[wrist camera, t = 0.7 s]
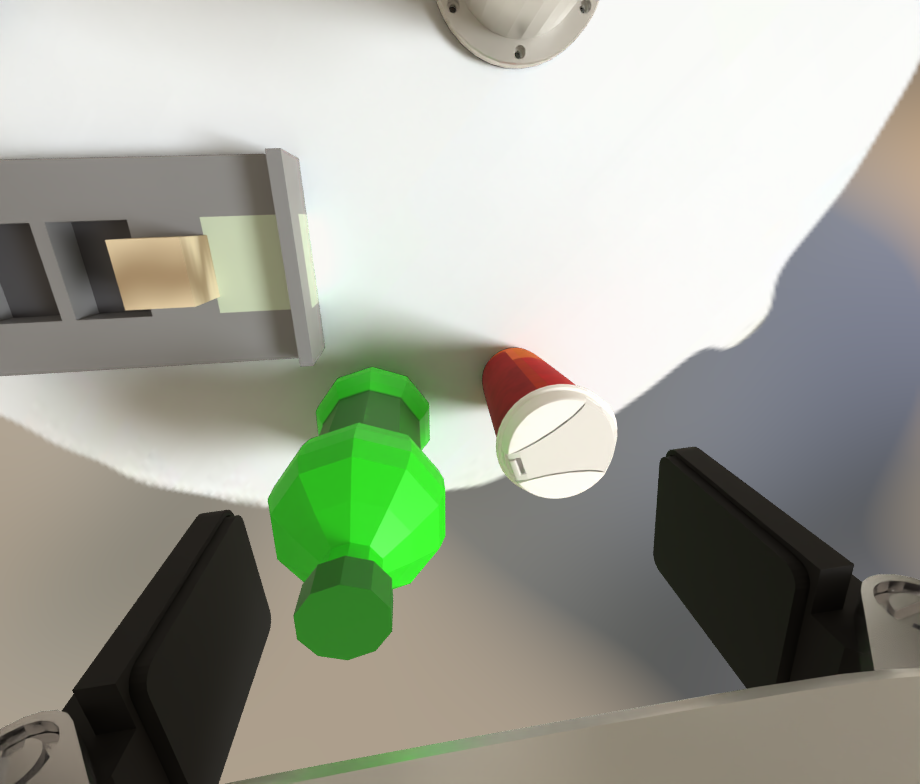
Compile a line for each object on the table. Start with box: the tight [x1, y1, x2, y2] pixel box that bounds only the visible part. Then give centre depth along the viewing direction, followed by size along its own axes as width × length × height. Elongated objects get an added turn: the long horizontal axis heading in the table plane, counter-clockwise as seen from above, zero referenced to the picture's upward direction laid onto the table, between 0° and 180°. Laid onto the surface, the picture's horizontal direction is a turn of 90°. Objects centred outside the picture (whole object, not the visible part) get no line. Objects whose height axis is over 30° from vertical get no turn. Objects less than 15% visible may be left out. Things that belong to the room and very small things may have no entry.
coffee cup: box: [482, 348, 617, 498], centre depth 37 cm, size 8×8×15 cm
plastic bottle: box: [268, 367, 445, 660], centre depth 32 cm, size 10×10×25 cm
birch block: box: [105, 235, 220, 310], centre depth 33 cm, size 4×4×4 cm
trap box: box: [0, 148, 325, 376], centre depth 35 cm, size 15×25×6 cm, turn 92°
